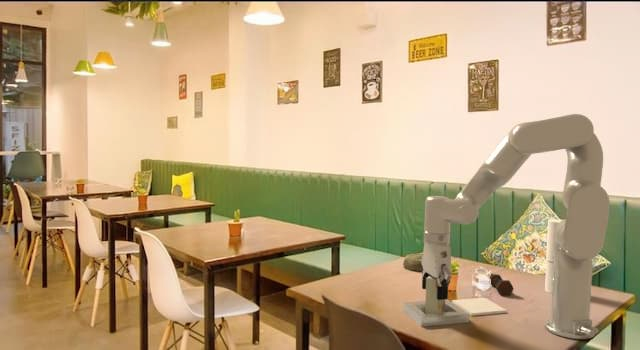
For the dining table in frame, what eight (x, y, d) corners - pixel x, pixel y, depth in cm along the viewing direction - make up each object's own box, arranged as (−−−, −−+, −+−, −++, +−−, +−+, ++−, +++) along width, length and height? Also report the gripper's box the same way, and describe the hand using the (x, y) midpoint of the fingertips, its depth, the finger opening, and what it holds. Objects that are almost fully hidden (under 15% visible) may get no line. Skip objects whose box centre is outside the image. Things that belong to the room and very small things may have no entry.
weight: (417, 274, 191) (417, 261, 191) (396, 266, 203) (396, 254, 202) (443, 269, 198) (443, 257, 197) (421, 262, 209) (421, 250, 209)
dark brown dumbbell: (493, 287, 180) (507, 299, 165) (481, 280, 180) (494, 292, 165) (501, 274, 180) (516, 285, 165) (490, 267, 180) (503, 277, 165)
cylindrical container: (565, 295, 165) (568, 223, 163) (542, 291, 170) (545, 221, 168) (569, 290, 171) (572, 220, 169) (547, 286, 175) (550, 218, 173)
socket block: (468, 322, 141) (469, 313, 141) (421, 326, 137) (421, 318, 137) (447, 307, 153) (447, 299, 153) (403, 310, 150) (403, 302, 150)
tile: (506, 312, 149) (506, 310, 149) (471, 315, 146) (471, 313, 146) (484, 299, 160) (484, 297, 160) (451, 302, 158) (451, 300, 158)
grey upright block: (438, 321, 142) (439, 280, 141) (424, 318, 144) (425, 278, 143) (445, 314, 147) (446, 275, 146) (431, 311, 149) (432, 272, 148)
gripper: (463, 243, 136) (460, 303, 137) (434, 231, 153) (432, 284, 154) (438, 244, 134) (436, 304, 136) (412, 232, 151) (410, 285, 152)
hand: (434, 293), depth 145 cm, fingers open, 9 cm apart
